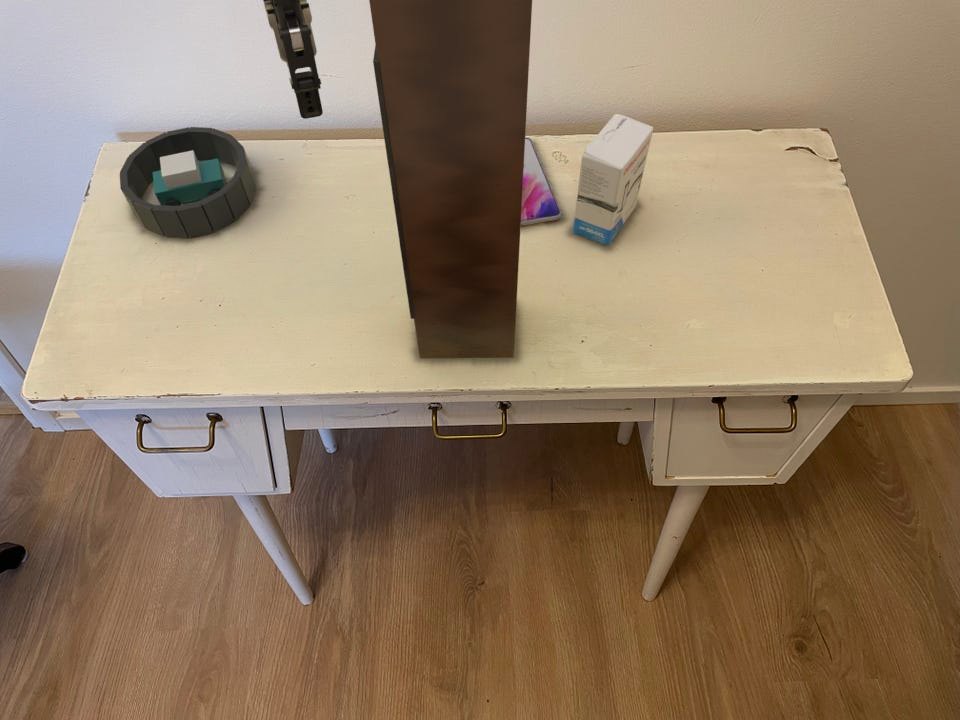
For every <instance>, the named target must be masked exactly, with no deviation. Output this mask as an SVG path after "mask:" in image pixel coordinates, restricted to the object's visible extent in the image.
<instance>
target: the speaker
mask: <svg viewBox="0 0 960 720" xmlns="http://www.w3.org/2000/svg"><path fill="white" fill-rule="evenodd" d="M368 1H369V9H370V15H371V23H372V31H373V36H374V37H373V38H374V44H375V46H374V52H373V59H372V65H373V71H374V77H375V83H376V91H377V98H378V104H379V112H380V118H381V124H382V131H383V132H382V134H383V138H384V144H385V145H384V146H385V152H386V159H387V166H388V172H389V173H388V174H389V179H390V186H391V194H392V201H393V207H394V214H395V220H396V221H395V222H396V228H397V235H398V241H399V242H398V243H399V250H400V256H401V261H402V269H403V276H404V282H405V289H406V295H407V296H406V297H407V304H408V309H409V316H410V319H411V320H413V321H414V322H413V323H414V330H415V335H416V343H417V350H418V357H419V359H492V358H493V359H499V358H500V359H505V358H506V359H509V358H514V357H515V342H516V341H515V340H516V323H517V304H518V286H519V266H520V265H519V263H520V245H521V228H522V227H521V226H522V225H521V209H522V189H523V170H524V151H525V137H526V131H527V111H528V110H527V108H528V107H527V106H528V92H529V91H528V90H529V74H530V73H529V71H530V53H531V35H532V34H531V33H532V32H531V31H532V16H533V15H532V13H533V0H368Z"/></svg>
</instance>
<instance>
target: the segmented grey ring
mask: <svg viewBox="0 0 960 720" xmlns="http://www.w3.org/2000/svg"><path fill="white" fill-rule="evenodd" d="M192 150H193V151H194V153H195V155H196V158H197V160H198V161H199V160H203V161H207V160H212V159H217V158H218V159H219V161H220V162H223V163H226V164H228V165H232V166H234V167H236V169H235V171H234V175H233V177H232V178H231V179H229V181H228V182H226V185H225V186H224V187H223V188H222V189H221V190H220V191H218V192H216V193H214V194H212V195H210V196H208V197H207V198H204V199H200V200H196V201H192V202H187V203H183V204H181V205H179V206H165V205H160V204H154V203H151V202H150V201H146V200H144V199H143V198H144V196H145V194H146V192H147V189H148V188H149V186H150V185H151V184H152V183H154V182H153V172H156V171H160V170H161V164H160V157H164V156H168V155H173V154H178V153H183V152H188V151H192ZM119 188H120V190H121V192H122V195H123V196H124V197H125V200H126V202H127V203H128V205H129V206H130V208H131V210H132V212H133V214H134V216H135V218H137V220H138V221H139V222H140V223H141V225H142V226H143V227H144V228H145V229H146V230H148V231H149V232H152V233H154V234H156V235H159V236H162V237H165V238H172V239H173V238H174V239H193V238H198V237H202V236H203V237H204V236H206V235H211V234H214V233H216V232H218V231H220V230H222V229H224V228H226V227H228V226H230V225H232V224H233V223H235V221H237V220H238V219H239V218H241V217H242V215H243V214H244V213H245V212H246V211H248V209H249V208H250V207H251V205H252V202H253V200H254V197H255V195H256V192H257V185H256V181H255V177H254V173H253V170H252V166H251V164H250V161H249V159H248V155H247V153H246V150H245V147H244V145H242V144H241V142H239V141H238V140H237V139H236V138H235V136H234V135H231V134H230V133H228V132H225V131H222V130H220V129H216V128H213V127H200V126H188V127H184V128H178V129H173V130H168V131H165V132H163V133H160V134H158V135H155V136H154V137H152V138H150V139H148V140H145V142H143V143H141V144H140V145H139V146H138V147H137V148H135V150H133V151H132V152H131V153H130V154H128V156H127V157H126V159H125V162H124V164H123V165H122V167H121V169H120V171H119Z"/></svg>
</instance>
